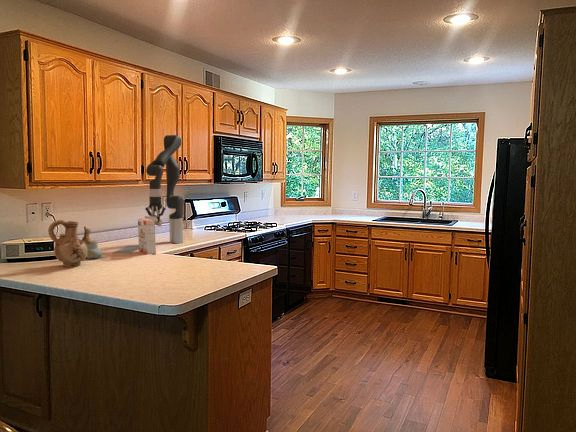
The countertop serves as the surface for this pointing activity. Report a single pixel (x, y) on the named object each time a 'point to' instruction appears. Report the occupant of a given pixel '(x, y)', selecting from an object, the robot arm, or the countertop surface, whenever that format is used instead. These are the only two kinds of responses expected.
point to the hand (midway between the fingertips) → (155, 222)
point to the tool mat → (127, 249)
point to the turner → (154, 219)
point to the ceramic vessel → (70, 243)
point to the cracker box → (146, 236)
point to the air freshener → (93, 251)
